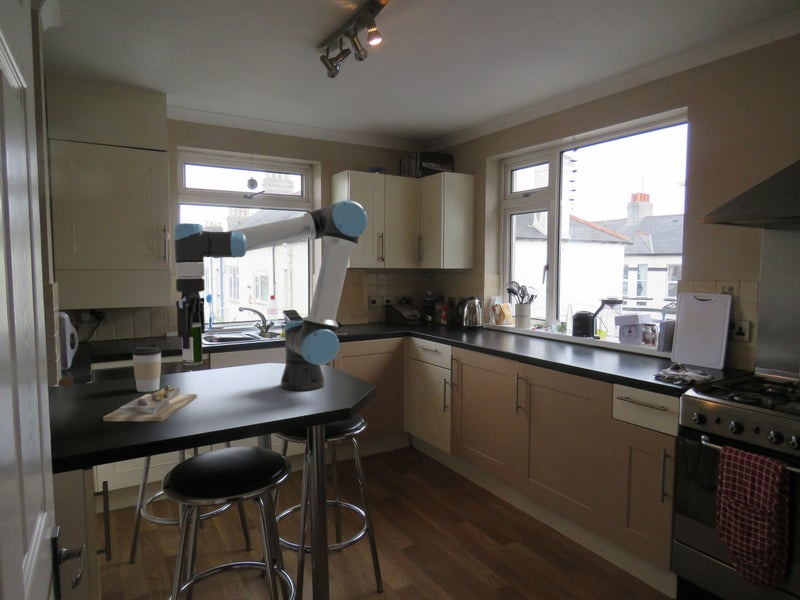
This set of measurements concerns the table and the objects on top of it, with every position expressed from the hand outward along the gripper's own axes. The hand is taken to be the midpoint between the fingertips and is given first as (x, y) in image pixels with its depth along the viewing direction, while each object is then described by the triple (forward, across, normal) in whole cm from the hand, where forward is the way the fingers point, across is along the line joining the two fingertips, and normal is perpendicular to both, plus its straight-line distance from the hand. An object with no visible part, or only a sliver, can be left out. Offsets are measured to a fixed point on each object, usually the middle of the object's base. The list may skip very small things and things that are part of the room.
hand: (192, 357), depth 147 cm
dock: (+16, -2, -13) cm, 20 cm away
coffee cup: (+16, -24, -27) cm, 39 cm away
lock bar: (+14, -10, -13) cm, 22 cm away
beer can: (+2, 0, 0) cm, 2 cm away
